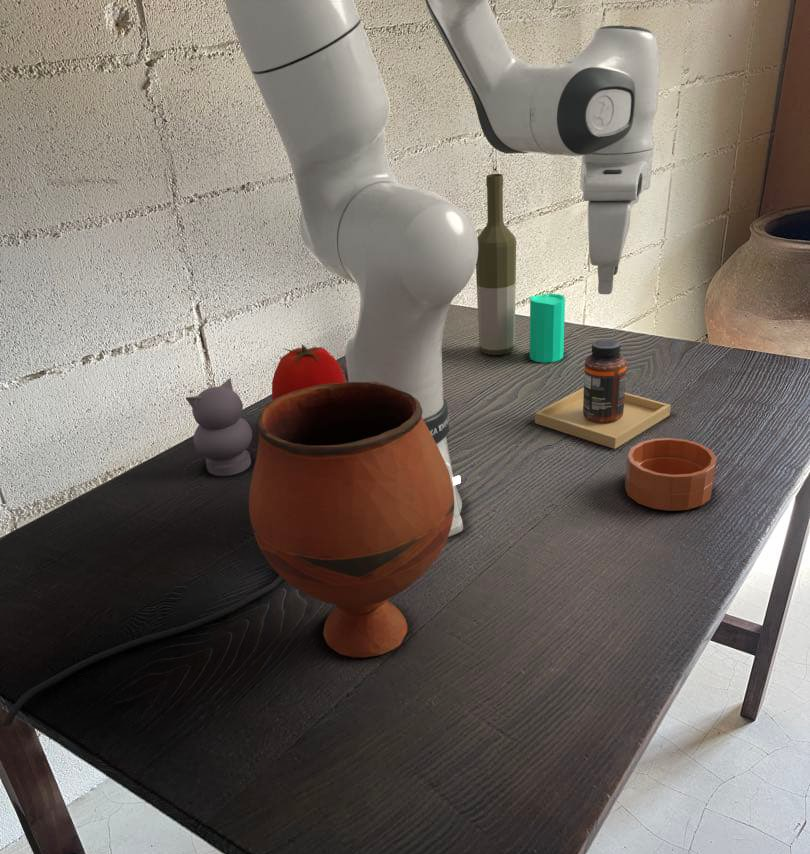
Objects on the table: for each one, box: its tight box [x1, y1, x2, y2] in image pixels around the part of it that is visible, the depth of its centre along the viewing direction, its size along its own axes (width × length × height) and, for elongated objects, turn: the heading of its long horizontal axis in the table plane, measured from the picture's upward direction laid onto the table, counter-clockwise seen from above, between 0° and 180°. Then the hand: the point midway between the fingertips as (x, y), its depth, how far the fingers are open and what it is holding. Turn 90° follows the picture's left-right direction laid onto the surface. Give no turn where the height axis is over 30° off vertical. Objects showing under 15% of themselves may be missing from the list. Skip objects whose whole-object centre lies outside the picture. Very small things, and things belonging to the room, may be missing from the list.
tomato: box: [271, 343, 346, 401], centre depth 125 cm, size 12×12×13 cm
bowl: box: [624, 437, 718, 512], centre depth 103 cm, size 10×10×5 cm
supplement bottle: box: [583, 338, 627, 423], centre depth 121 cm, size 6×6×11 cm
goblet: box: [248, 381, 454, 659], centre depth 79 cm, size 19×19×25 cm
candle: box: [529, 288, 566, 363], centre depth 144 cm, size 6×6×12 cm
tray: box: [534, 387, 672, 450], centre depth 123 cm, size 14×14×2 cm
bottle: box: [475, 173, 517, 356], centre depth 143 cm, size 7×7×30 cm
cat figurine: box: [185, 378, 253, 477], centre depth 117 cm, size 9×8×12 cm
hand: (608, 283), depth 113 cm, fingers open, 8 cm apart
